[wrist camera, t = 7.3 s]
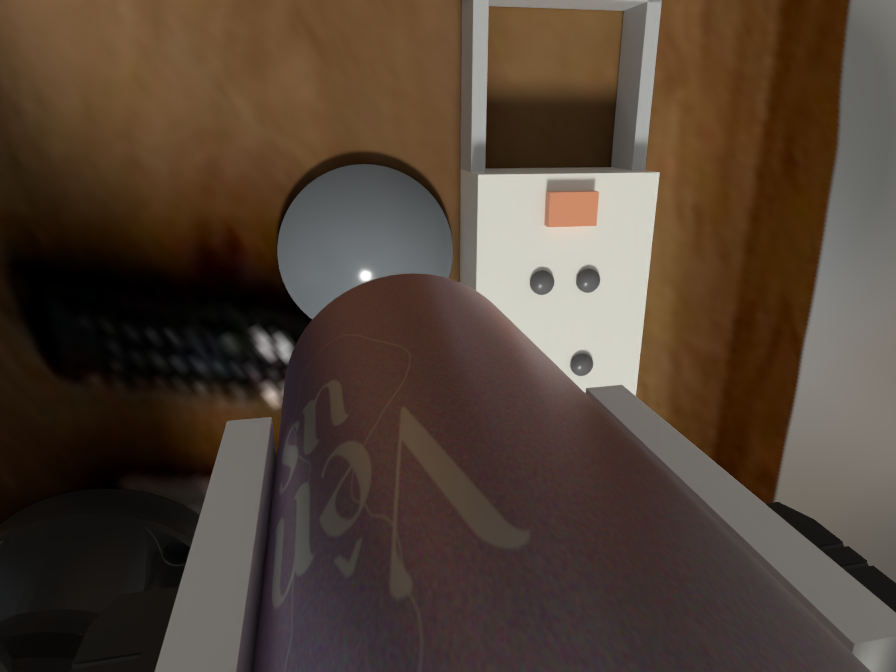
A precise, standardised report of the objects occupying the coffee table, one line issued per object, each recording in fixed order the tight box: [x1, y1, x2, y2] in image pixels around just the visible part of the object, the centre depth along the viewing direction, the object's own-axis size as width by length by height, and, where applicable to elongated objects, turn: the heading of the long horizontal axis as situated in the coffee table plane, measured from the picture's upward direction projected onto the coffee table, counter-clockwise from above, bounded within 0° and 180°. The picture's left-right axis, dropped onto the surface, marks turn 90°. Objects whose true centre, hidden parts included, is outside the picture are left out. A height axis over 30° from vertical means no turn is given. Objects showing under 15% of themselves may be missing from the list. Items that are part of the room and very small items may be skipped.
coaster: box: [277, 164, 453, 319], centre depth 33 cm, size 9×9×1 cm
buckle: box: [460, 0, 662, 396], centre depth 33 cm, size 28×9×5 cm, turn 0°
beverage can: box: [253, 273, 871, 672], centre depth 9 cm, size 6×6×15 cm
